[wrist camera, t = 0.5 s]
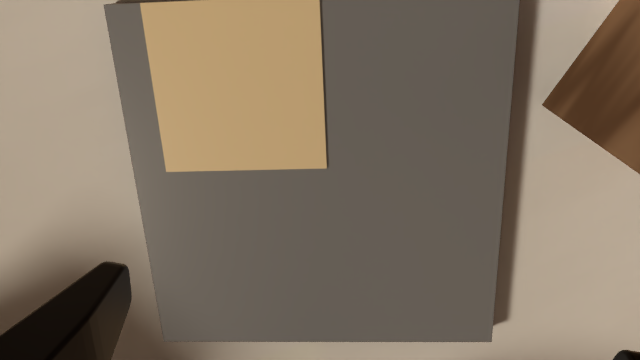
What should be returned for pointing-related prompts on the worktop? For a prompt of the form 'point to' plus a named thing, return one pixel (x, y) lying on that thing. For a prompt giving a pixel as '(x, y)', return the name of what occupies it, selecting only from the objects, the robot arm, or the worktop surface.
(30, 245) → the worktop surface
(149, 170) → the baseplate
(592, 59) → the walnut post
